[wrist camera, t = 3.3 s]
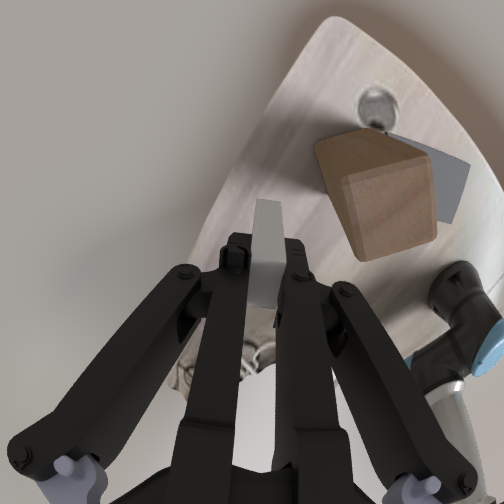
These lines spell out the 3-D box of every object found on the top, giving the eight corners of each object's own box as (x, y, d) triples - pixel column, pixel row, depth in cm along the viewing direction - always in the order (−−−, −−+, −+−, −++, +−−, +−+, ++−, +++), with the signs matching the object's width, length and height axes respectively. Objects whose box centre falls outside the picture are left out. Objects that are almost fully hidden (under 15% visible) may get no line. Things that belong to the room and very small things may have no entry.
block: (383, 182, 41) (440, 242, 24) (328, 198, 43) (358, 268, 26) (369, 125, 36) (433, 151, 19) (310, 141, 39) (336, 176, 22)
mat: (469, 164, 37) (470, 165, 36) (450, 223, 43) (451, 224, 43) (387, 132, 36) (388, 132, 36) (369, 204, 43) (370, 205, 43)
